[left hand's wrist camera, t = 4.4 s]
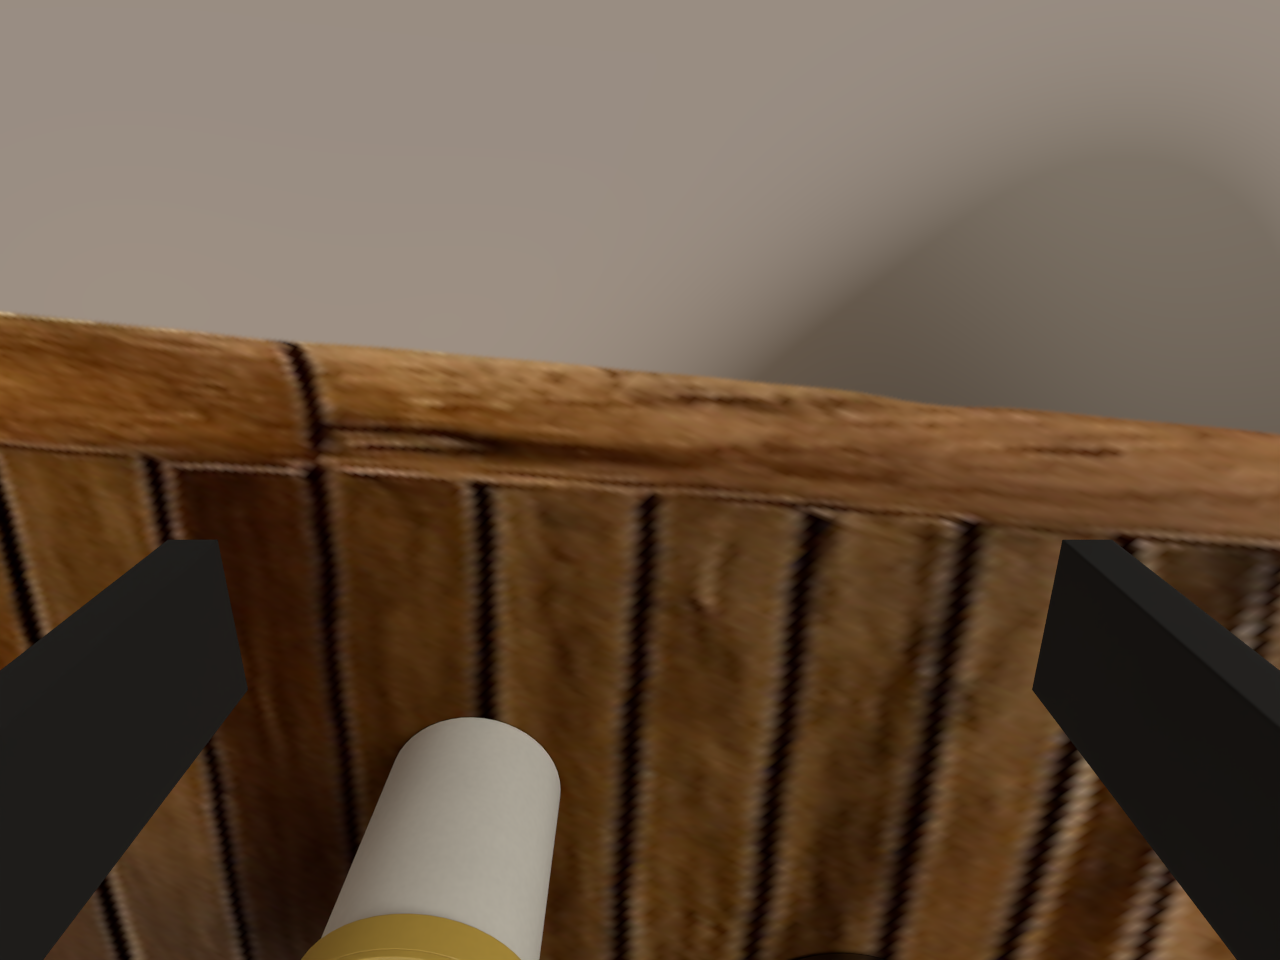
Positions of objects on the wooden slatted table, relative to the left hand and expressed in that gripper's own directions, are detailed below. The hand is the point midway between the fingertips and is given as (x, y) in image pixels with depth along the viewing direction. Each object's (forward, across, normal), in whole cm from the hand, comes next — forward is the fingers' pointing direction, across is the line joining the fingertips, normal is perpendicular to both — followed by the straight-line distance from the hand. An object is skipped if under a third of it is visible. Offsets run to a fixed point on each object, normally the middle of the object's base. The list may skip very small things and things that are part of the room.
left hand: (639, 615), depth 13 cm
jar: (+28, +10, +28) cm, 41 cm away
